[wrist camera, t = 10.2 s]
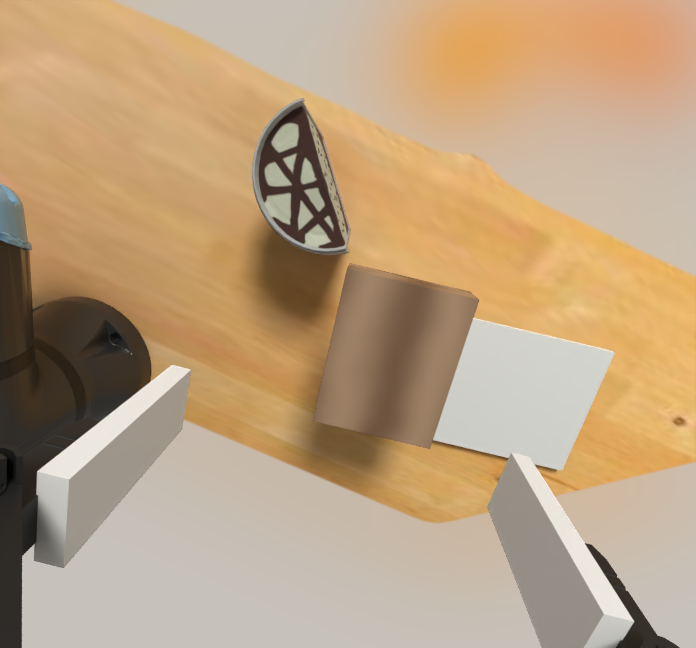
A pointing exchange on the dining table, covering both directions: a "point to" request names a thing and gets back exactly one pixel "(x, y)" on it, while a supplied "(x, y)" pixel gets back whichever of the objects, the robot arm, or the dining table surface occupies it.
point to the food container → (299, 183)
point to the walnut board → (393, 355)
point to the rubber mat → (521, 393)
